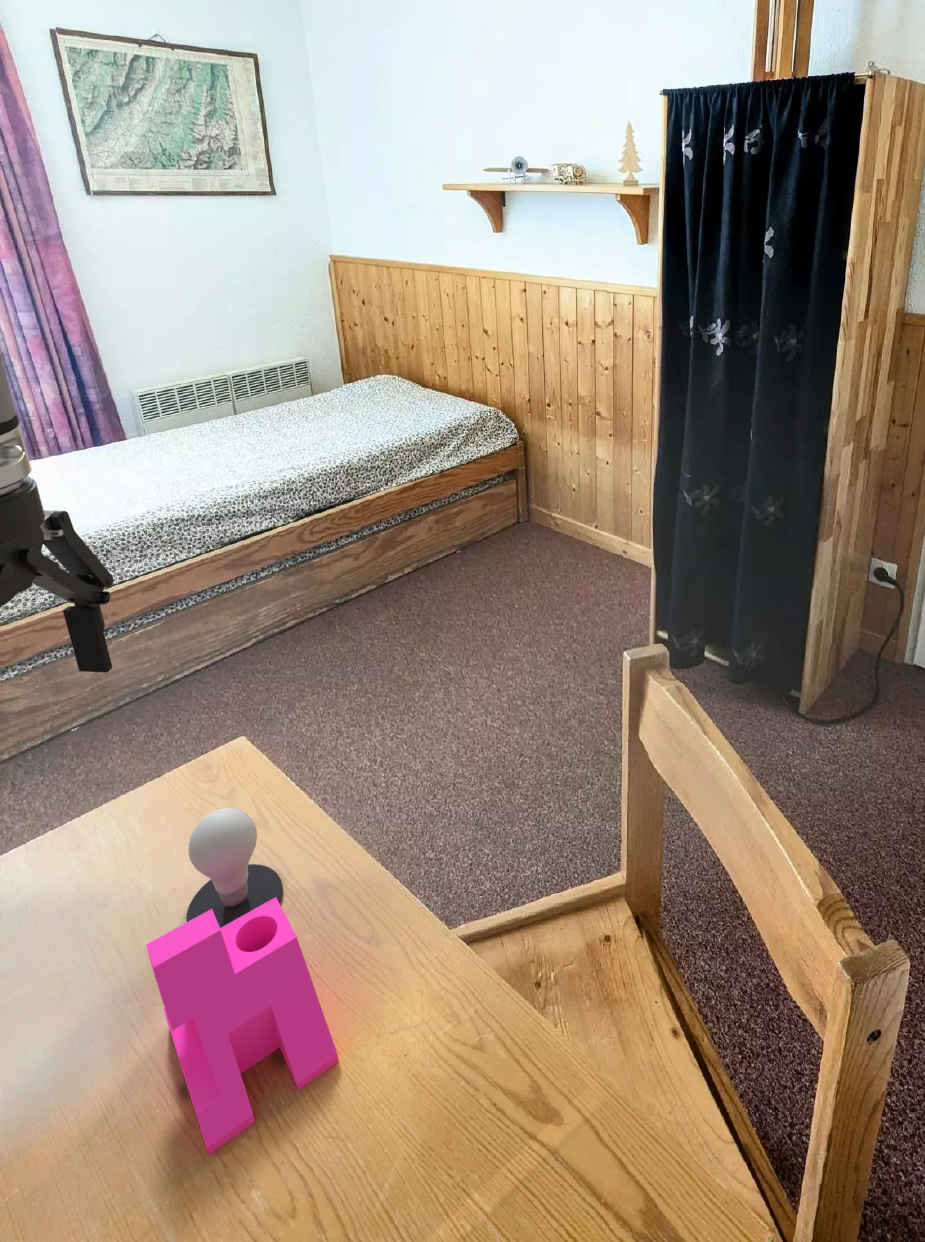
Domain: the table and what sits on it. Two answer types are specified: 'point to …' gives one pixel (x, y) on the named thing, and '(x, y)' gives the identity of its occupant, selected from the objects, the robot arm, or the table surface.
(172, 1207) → the table surface
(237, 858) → the lightbulb
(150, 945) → the bracket
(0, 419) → the robot arm
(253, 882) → the coaster
